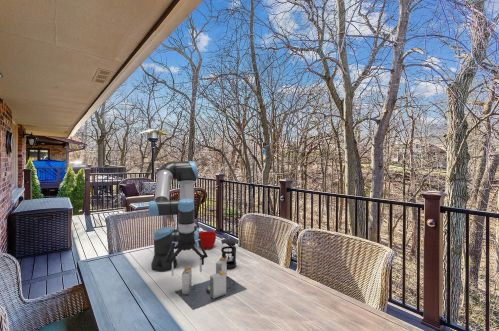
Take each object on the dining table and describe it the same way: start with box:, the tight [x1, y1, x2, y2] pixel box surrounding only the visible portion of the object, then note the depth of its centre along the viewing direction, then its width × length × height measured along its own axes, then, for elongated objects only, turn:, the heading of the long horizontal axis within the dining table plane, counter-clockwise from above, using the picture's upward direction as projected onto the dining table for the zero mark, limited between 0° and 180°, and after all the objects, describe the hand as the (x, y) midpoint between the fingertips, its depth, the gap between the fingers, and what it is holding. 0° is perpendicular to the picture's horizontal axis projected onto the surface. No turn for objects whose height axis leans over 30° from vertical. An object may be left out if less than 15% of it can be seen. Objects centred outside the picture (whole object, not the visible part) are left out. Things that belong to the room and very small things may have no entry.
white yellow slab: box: [215, 256, 228, 277], centre depth 150 cm, size 3×7×10 cm, turn 163°
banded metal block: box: [209, 271, 226, 299], centre depth 134 cm, size 3×7×10 cm, turn 128°
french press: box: [220, 229, 237, 271], centre depth 167 cm, size 12×9×23 cm
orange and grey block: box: [181, 266, 193, 294], centre depth 138 cm, size 3×7×10 cm, turn 1°
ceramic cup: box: [198, 230, 217, 250], centre depth 203 cm, size 13×17×10 cm
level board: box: [174, 275, 248, 311], centre depth 139 cm, size 20×30×3 cm, turn 128°
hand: (186, 273), depth 138 cm, fingers open, 13 cm apart
